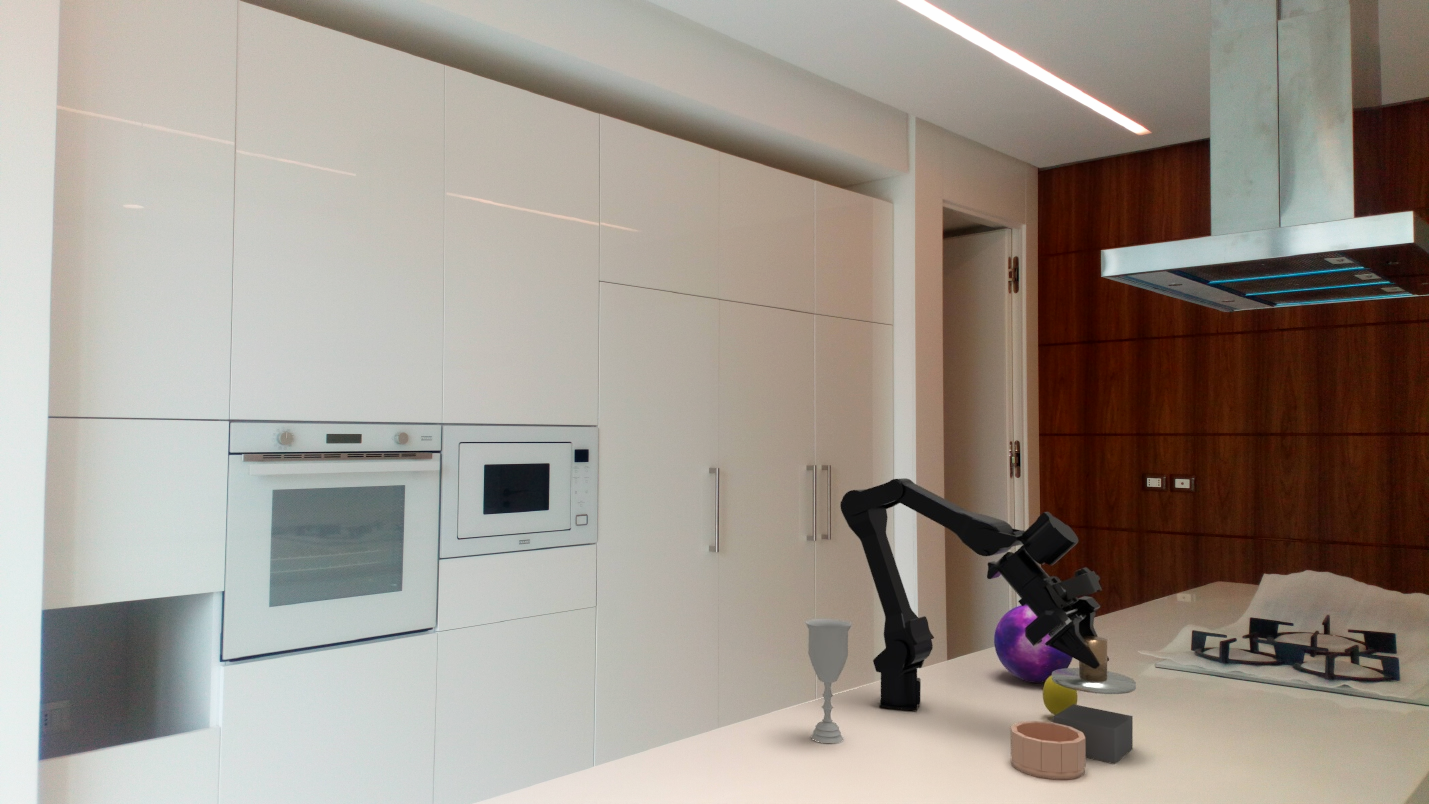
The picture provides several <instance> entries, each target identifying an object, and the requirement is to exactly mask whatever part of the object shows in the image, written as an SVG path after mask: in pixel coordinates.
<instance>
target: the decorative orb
mask: <svg viewBox="0 0 1429 804" xmlns="http://www.w3.org/2000/svg"><path fill="white" fill-rule="evenodd" d="M1036 618H1037V616H1036V615H1035V614H1034V613H1033V612H1032V610H1031V609H1030V608H1029V607H1028V606H1027V605H1025V606H1022V605H1021V604H1020V605H1018V606H1015V607H1013V608H1011V609H1010V610H1008V611H1007V612H1006V613H1005V614H1004V615H1002V617H1001V618H1000V619H999V620H998V623H997V625H996V628H995V631H994V638H993V641H994V642H993V643H994V649H995V653H996V656H997V659H999V661H1000V663H1001V665H1002V666H1003V668H1005V669H1006V670H1007V671H1008V673H1011V674H1012V676H1014V677H1016V678H1018V679H1020V680H1023V681H1026V682H1030V683H1037V684H1039V683H1045V682H1046V680H1047V679H1048V678H1049V677H1050V676H1051V675H1052V672H1053V671H1055V670H1058V669H1064V668H1070V665H1071V663H1072V661H1073V659H1074V658H1073V657H1071V656H1069V655H1067V654H1065V653H1063V652H1061V651H1059V650H1057V649H1054V648H1052V647H1050V646H1046V645H1045V643H1046V642H1047V641H1048V640H1049V639H1051V638H1050V637H1049V636H1048V634H1047V635H1046V636H1045V637H1044V638H1042V642H1041V643H1040V644H1037V645H1035V646H1033V645H1032V644H1031V643H1030V641H1029V640H1028V639H1027V638H1026V637H1025V627H1027V626H1028V625H1029V624H1030V623H1031V622H1032V621H1034V620H1035V619H1036Z"/></svg>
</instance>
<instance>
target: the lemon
mask: <svg viewBox="0 0 1429 804" xmlns="http://www.w3.org/2000/svg"><path fill="white" fill-rule="evenodd" d="M1042 700H1043V704H1044V706H1045V708H1046V709H1047V711H1049V713H1051V714H1052V715H1054V716H1055V715H1057V714H1058V713H1060V712H1062V711H1063V710H1065V709H1066V708H1068V707H1070V706H1071V705H1073V704H1075V705H1078V704H1077V703H1078V690H1074V689H1070V688H1066V687H1063V686H1061V685H1058V684H1056V683H1055V682H1053V681H1052V675H1051V676H1050V677H1049V678H1048V679H1047V680H1046V682H1044V685H1043V689H1042Z"/></svg>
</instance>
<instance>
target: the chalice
mask: <svg viewBox="0 0 1429 804" xmlns="http://www.w3.org/2000/svg"><path fill="white" fill-rule="evenodd" d="M805 624H806V627H807V629H808V647H807V648H808V651H807V652H808V656H809V660H810V663H811V666H812V669H813V671H814V672H815V675H816V677H817V679H818V680H819V681H820V682H822V683H823V684H824V690H823V693H822V697H823V700H824V703H823V705H822V706H821V709H823V714H824V715H823V719H822V720H821V721H819V722H817V724H815V728H814V729H813V733H812V735H811V736H812V737H811V736H810V739H811V738H812V739H814V740H816V741H819V742H822V743H821V744H823V743H836V744H840V743H842V742H843V741H844V737H843V735H842V732H841V730H840V727H839V726H838V724H837V723H836V722H834V721H833V720H832V717H831V714H832V713H831V712H832V710H833V709H834V707H833V705H832V702H831V701H832V698H833V697H834V696H833V693H832V689H831V687H832V683H835V682H837V681H838V679H839V678H840V675H841V674H842V671H843V670H844V668H845V665H846V663H847V660H848V655H849V630H850V629H851V627H852V625H853V624H852V623H851V622H850V621H846V620H842V619H834V618H813V619H808V620H805ZM812 739H811V740H812ZM842 740H843V741H842ZM841 741H842V742H841ZM839 742H840V743H839Z"/></svg>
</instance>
